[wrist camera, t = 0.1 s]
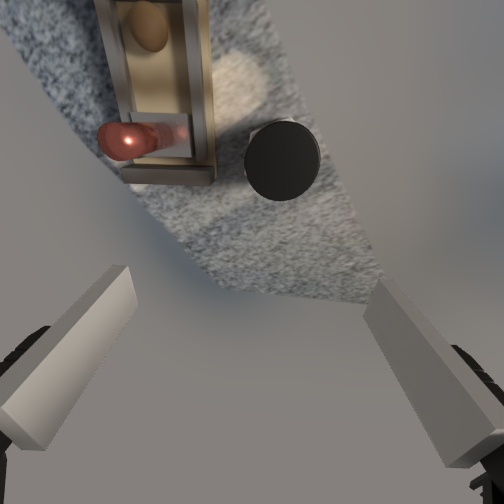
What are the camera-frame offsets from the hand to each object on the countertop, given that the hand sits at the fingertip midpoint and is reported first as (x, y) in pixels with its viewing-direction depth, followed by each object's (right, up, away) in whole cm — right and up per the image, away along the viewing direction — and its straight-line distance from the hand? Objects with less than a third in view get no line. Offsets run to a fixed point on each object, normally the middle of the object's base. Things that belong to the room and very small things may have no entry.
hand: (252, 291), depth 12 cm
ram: (-12, +19, +19) cm, 29 cm away
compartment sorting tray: (-11, +25, +18) cm, 33 cm away
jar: (+3, +18, +22) cm, 29 cm away
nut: (-11, +28, +14) cm, 33 cm away
